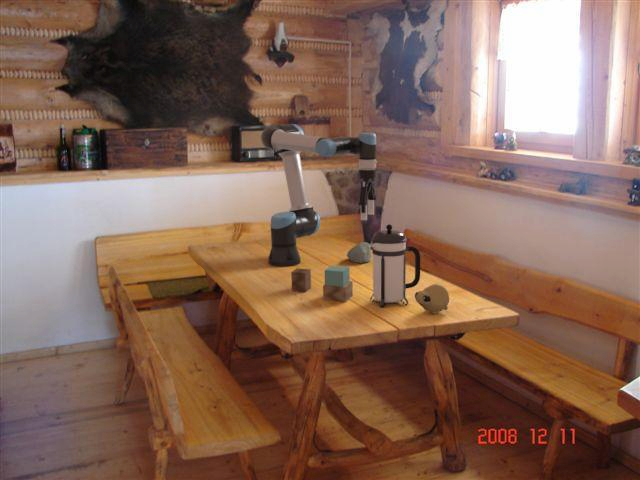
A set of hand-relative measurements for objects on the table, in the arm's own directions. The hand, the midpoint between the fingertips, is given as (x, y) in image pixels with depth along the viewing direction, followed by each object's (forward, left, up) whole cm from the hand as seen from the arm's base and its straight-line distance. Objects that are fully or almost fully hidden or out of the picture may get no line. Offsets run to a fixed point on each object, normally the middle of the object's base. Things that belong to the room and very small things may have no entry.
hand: (367, 217), depth 303 cm
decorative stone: (-8, +16, -24) cm, 30 cm away
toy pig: (+39, -52, -24) cm, 69 cm away
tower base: (+1, -44, -24) cm, 50 cm away
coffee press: (+22, -43, -24) cm, 54 cm away
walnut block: (-17, -37, -24) cm, 48 cm away
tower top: (0, -44, -18) cm, 48 cm away
